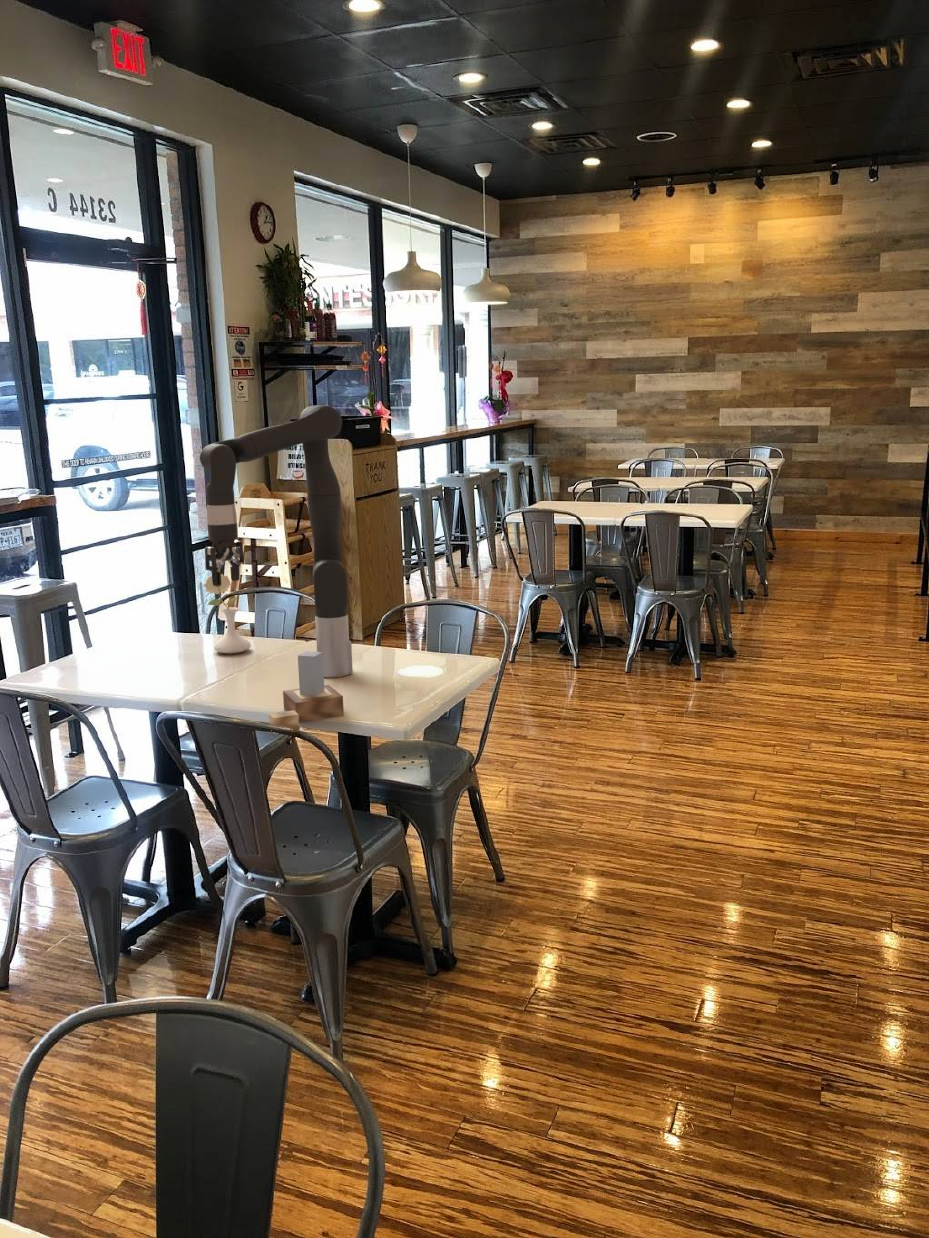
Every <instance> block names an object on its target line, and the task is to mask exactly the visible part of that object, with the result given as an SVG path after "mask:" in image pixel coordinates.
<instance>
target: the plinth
mask: <svg viewBox="0 0 929 1238" xmlns="http://www.w3.org/2000/svg"><path fill="white" fill-rule="evenodd" d="M324 690H325V691H324V692H322V693H320V694H318V695H317V696H312V695H301V694H300V688H295V689H287V690H282V698H283V710H284V712H285V711H292V710H294V711H295V712H296V713H297V714H299V723H302V722H303V723H304V722H308V721H309V722H310V721H315V720H316V721H317V720H323V719H324V720H325V719H329V718H336V717H337V718H338V717H342V716H345V714H344V713H345V712H344V695H342V694H340V693H339V691H338V690H336V689H335V688H334V687H332V686H331V685H330V684H324Z"/></svg>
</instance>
